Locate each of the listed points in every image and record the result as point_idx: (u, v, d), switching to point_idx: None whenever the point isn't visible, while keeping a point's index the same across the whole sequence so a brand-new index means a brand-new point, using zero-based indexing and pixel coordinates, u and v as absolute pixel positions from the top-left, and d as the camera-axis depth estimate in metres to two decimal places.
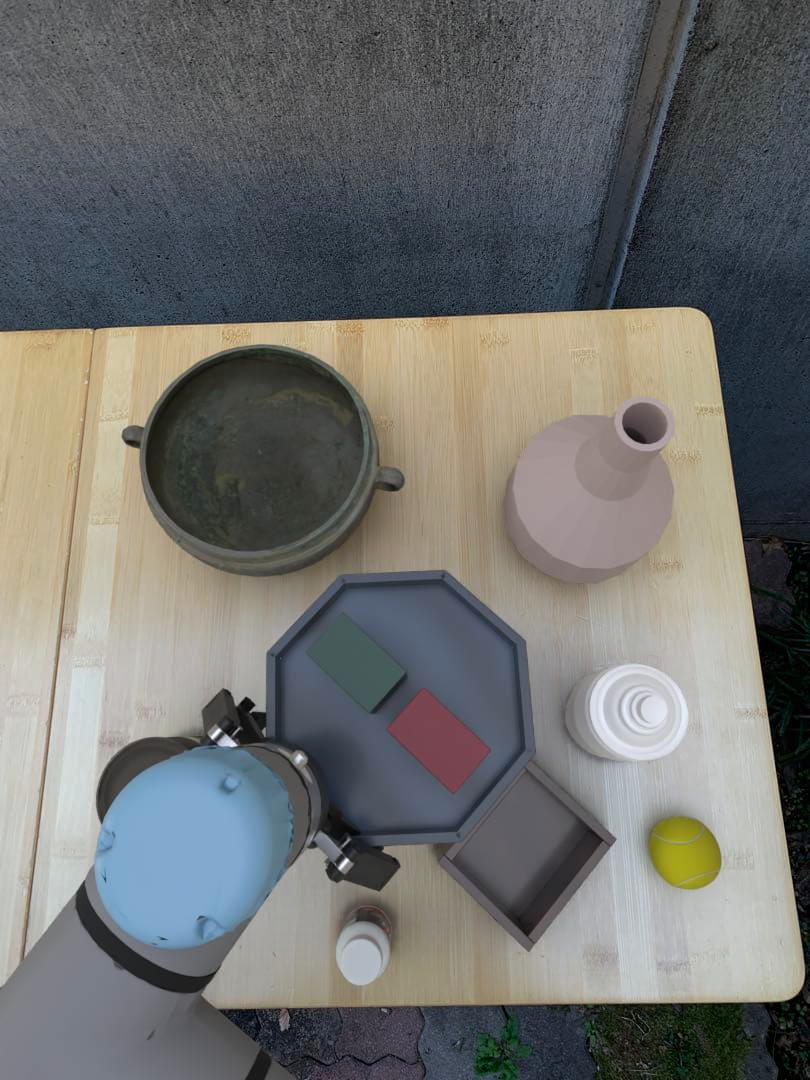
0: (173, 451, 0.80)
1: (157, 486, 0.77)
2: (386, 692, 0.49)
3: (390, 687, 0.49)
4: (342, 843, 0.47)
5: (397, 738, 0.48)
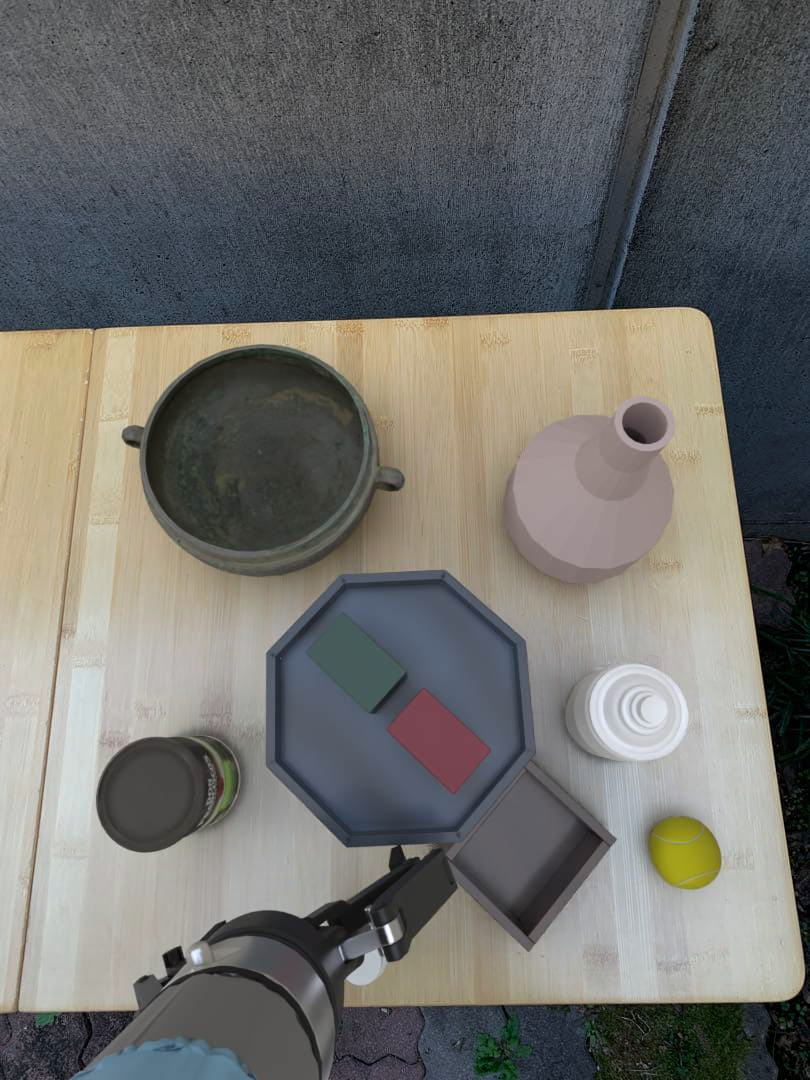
0: (173, 451, 0.80)
1: (157, 486, 0.77)
2: (386, 692, 0.49)
3: (390, 687, 0.49)
4: (369, 920, 0.35)
5: (397, 738, 0.48)
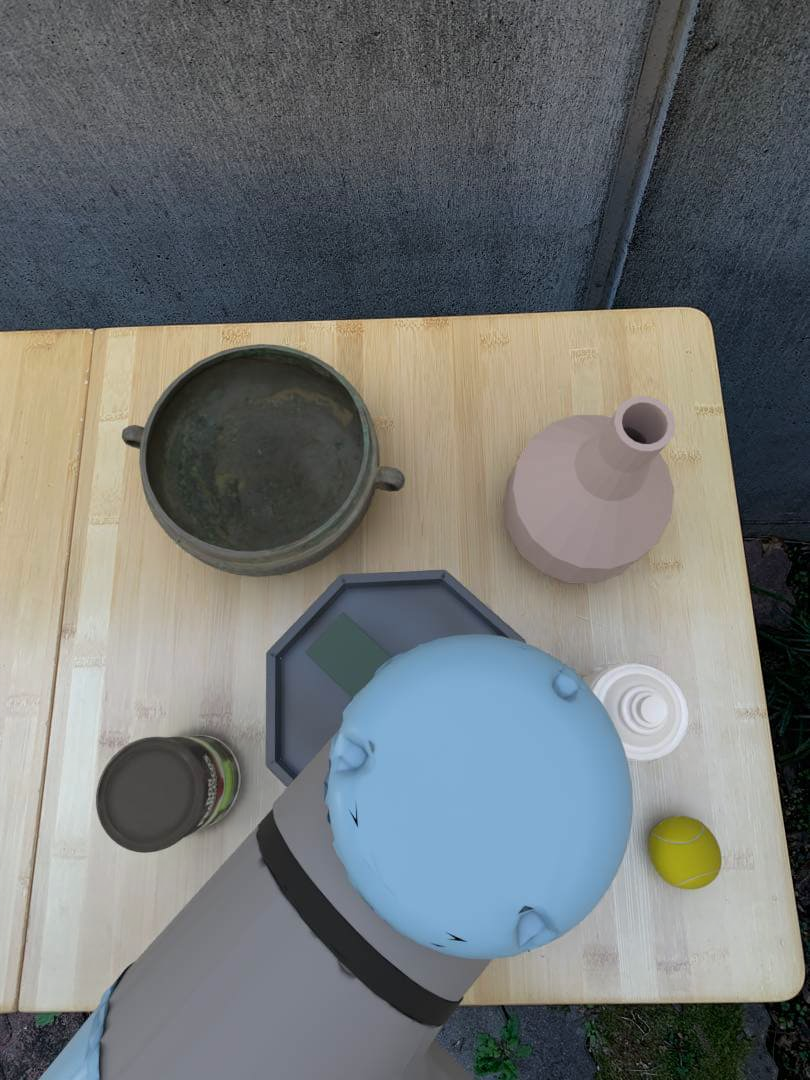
0: (173, 451, 0.80)
1: (157, 486, 0.77)
2: None
3: None
4: None
5: None
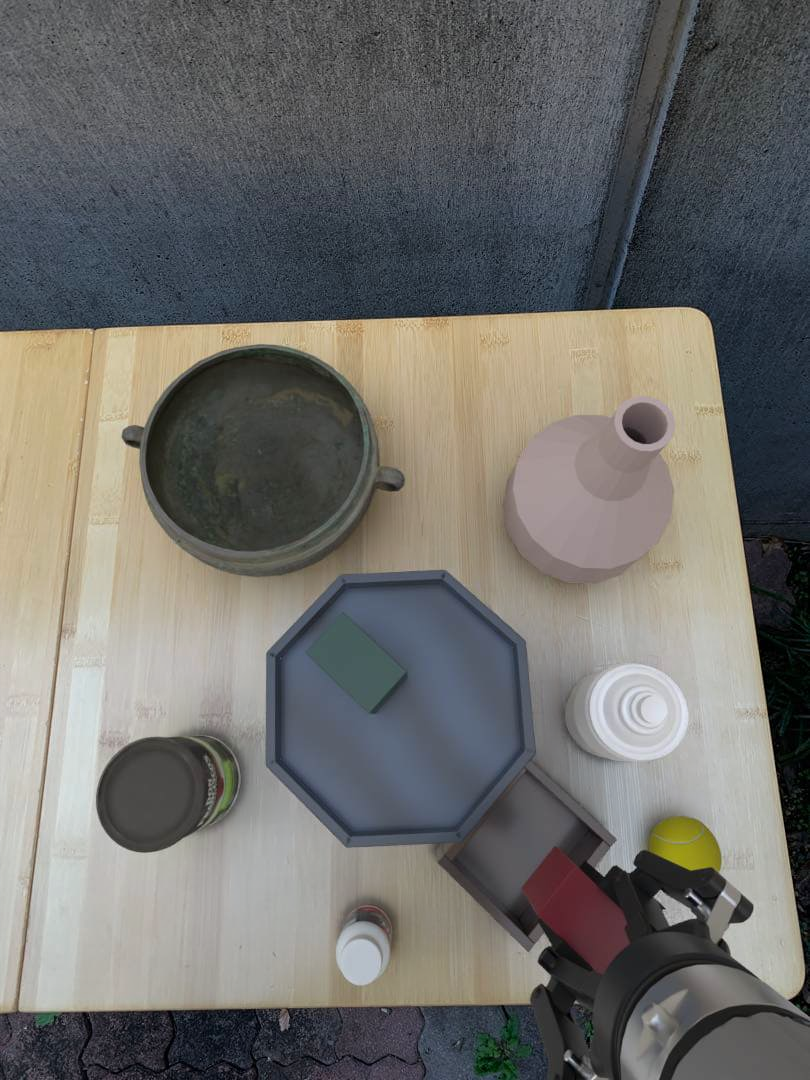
0: (173, 451, 0.80)
1: (157, 486, 0.77)
2: (386, 692, 0.49)
3: (390, 687, 0.49)
4: (698, 902, 0.34)
5: (550, 925, 0.44)
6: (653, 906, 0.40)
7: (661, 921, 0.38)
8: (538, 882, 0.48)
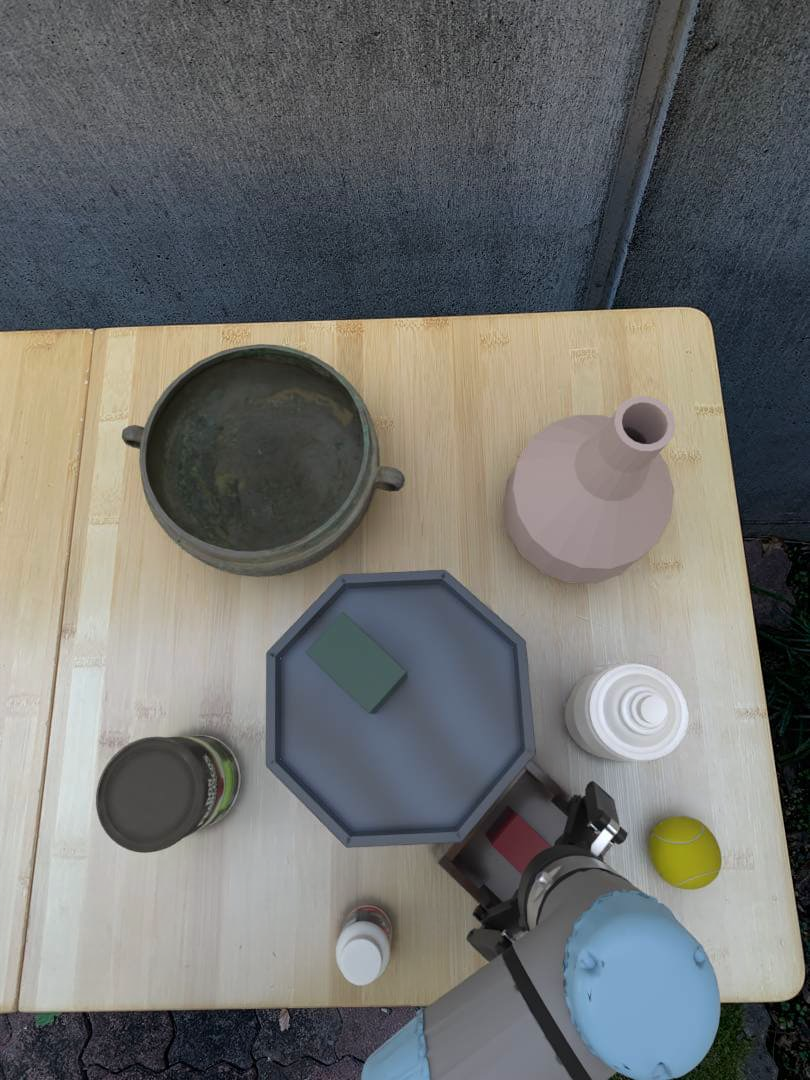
0: (173, 451, 0.80)
1: (157, 486, 0.77)
2: (386, 692, 0.49)
3: (390, 687, 0.49)
4: (594, 830, 0.55)
5: (500, 852, 0.68)
6: None
7: (587, 835, 0.59)
8: (495, 828, 0.73)
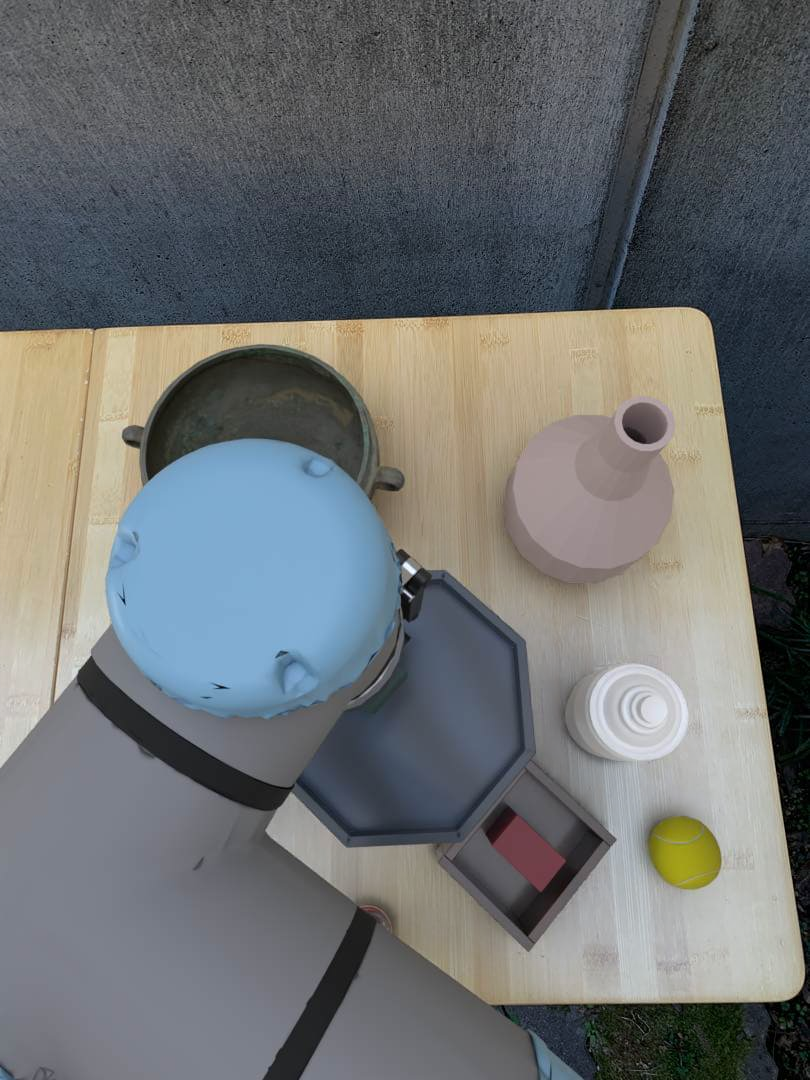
0: (173, 451, 0.80)
1: None
2: (386, 692, 0.49)
3: (390, 687, 0.49)
4: None
5: (500, 852, 0.68)
6: None
7: None
8: (495, 828, 0.73)
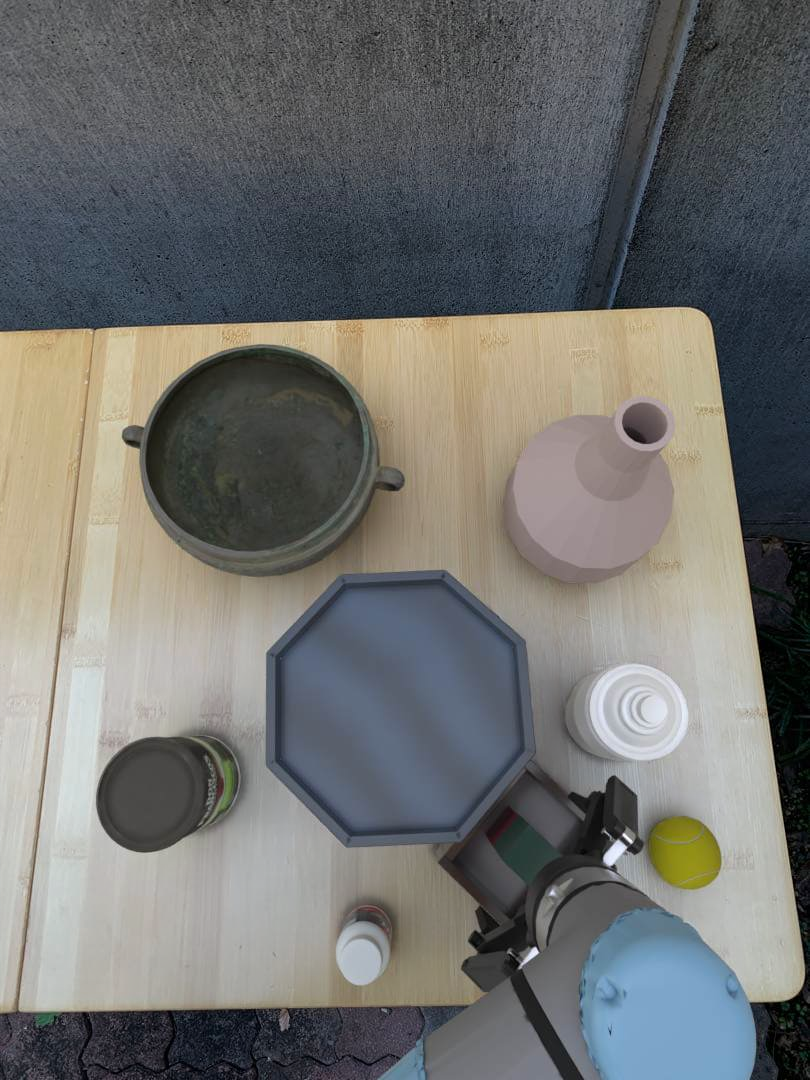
0: (173, 451, 0.80)
1: (157, 486, 0.77)
2: None
3: None
4: (608, 837, 0.51)
5: None
6: None
7: (605, 838, 0.55)
8: (495, 828, 0.73)
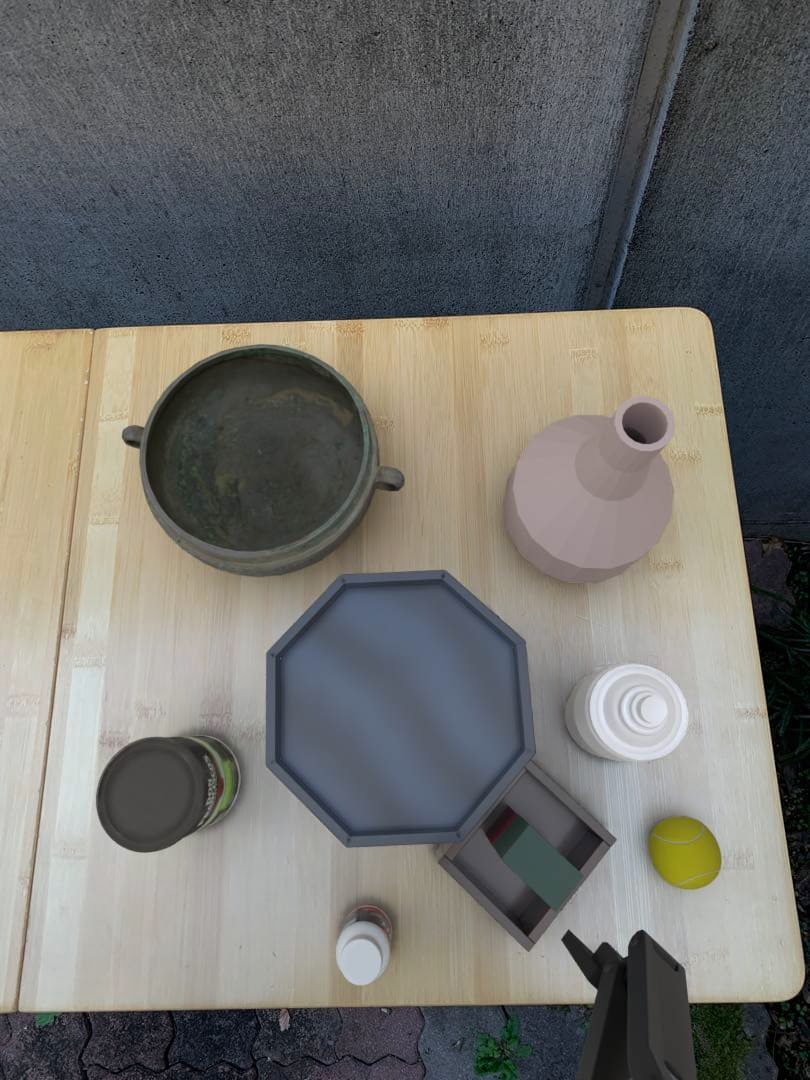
0: (173, 451, 0.80)
1: (157, 486, 0.77)
2: (568, 893, 0.61)
3: (571, 889, 0.61)
4: None
5: None
6: None
7: (630, 1070, 0.29)
8: (495, 828, 0.73)
